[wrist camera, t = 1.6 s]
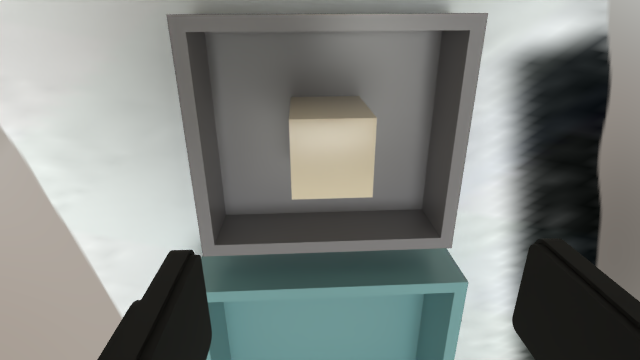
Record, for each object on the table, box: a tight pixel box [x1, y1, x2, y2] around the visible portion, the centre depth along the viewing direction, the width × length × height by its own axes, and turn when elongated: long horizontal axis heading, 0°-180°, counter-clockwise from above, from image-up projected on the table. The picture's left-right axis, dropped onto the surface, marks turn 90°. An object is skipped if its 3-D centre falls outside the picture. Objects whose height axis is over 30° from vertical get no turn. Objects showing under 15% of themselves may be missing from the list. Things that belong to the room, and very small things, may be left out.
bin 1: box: [167, 13, 488, 257], centre depth 24 cm, size 14×16×5 cm
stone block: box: [289, 96, 377, 200], centre depth 22 cm, size 4×4×6 cm
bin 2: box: [201, 248, 468, 360], centre depth 30 cm, size 18×18×6 cm
